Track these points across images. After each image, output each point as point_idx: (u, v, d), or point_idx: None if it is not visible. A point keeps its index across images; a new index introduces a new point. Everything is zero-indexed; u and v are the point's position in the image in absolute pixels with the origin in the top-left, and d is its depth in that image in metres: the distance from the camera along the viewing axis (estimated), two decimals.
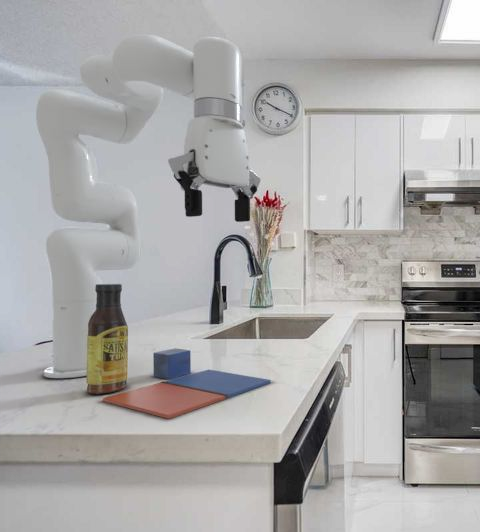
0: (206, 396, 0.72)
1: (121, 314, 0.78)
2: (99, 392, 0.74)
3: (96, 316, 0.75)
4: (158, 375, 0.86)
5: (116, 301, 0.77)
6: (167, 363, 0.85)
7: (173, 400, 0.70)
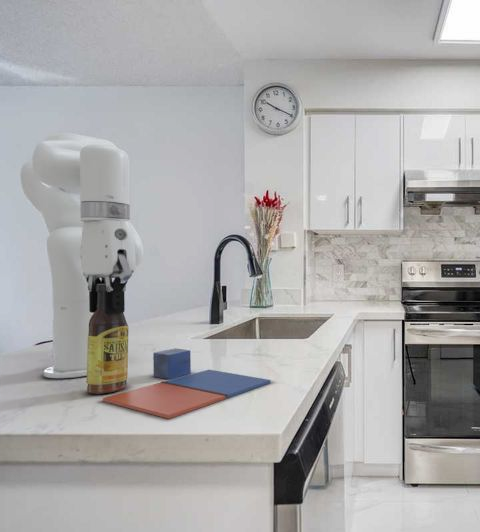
0: (206, 396, 0.72)
1: (122, 314, 0.78)
2: (99, 392, 0.75)
3: (97, 316, 0.75)
4: (158, 375, 0.86)
5: None
6: (167, 363, 0.85)
7: (173, 400, 0.70)
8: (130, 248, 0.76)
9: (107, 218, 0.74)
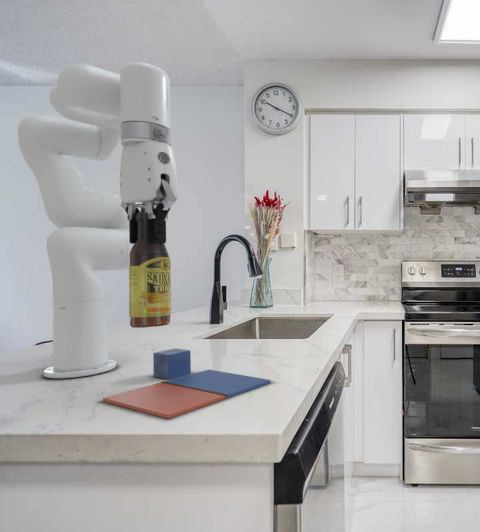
0: (206, 396, 0.72)
1: (163, 245, 0.73)
2: (143, 325, 0.70)
3: (139, 245, 0.71)
4: (158, 375, 0.86)
5: None
6: (167, 363, 0.85)
7: (173, 400, 0.70)
8: (173, 174, 0.72)
9: (149, 140, 0.70)
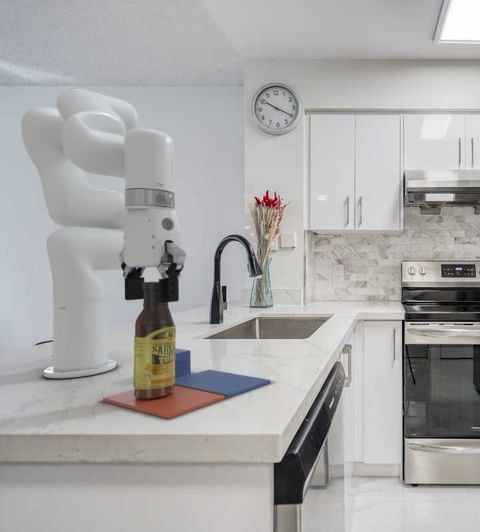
0: (206, 396, 0.72)
1: (169, 314, 0.73)
2: (147, 397, 0.70)
3: (144, 316, 0.70)
4: None
5: None
6: None
7: (173, 400, 0.70)
8: (177, 239, 0.72)
9: (154, 207, 0.70)
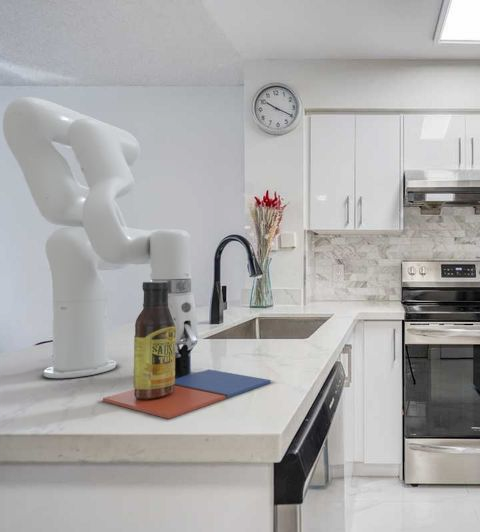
0: (206, 396, 0.72)
1: (169, 314, 0.73)
2: (147, 397, 0.70)
3: (144, 316, 0.70)
4: None
5: (164, 300, 0.73)
6: None
7: (173, 400, 0.70)
8: (193, 318, 0.87)
9: (175, 294, 0.85)
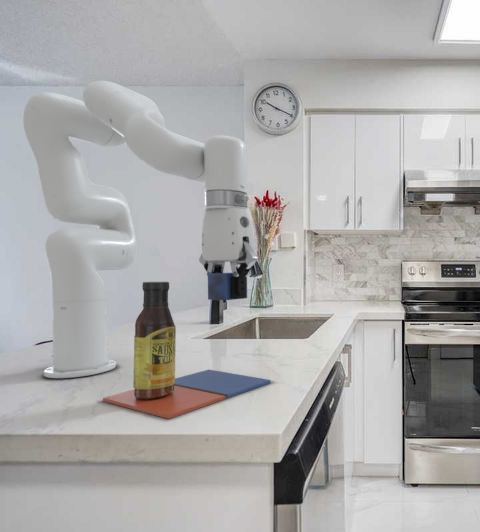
0: (206, 396, 0.72)
1: (169, 314, 0.73)
2: (147, 397, 0.70)
3: (144, 316, 0.70)
4: (213, 297, 0.78)
5: (164, 300, 0.73)
6: (224, 282, 0.77)
7: (173, 400, 0.70)
8: (251, 235, 0.79)
9: (232, 206, 0.77)
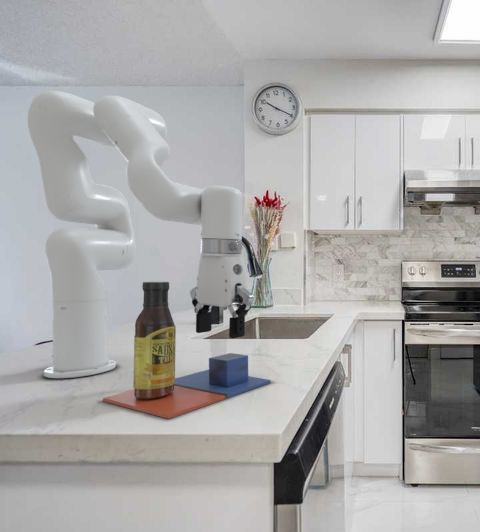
0: (206, 396, 0.72)
1: (169, 314, 0.73)
2: (147, 397, 0.70)
3: (144, 316, 0.70)
4: (215, 383, 0.78)
5: (164, 300, 0.73)
6: (226, 370, 0.77)
7: (173, 400, 0.70)
8: (244, 282, 0.82)
9: (226, 254, 0.80)
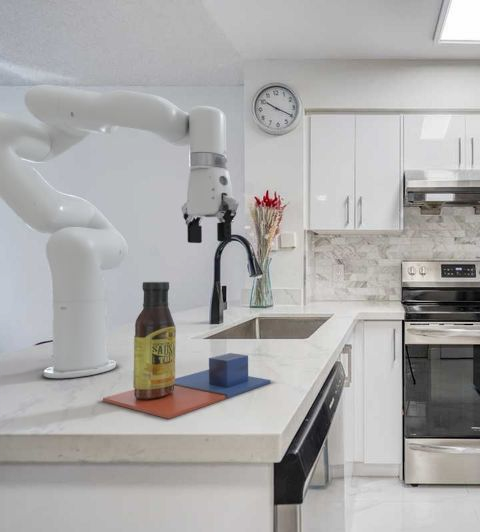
0: (206, 396, 0.72)
1: (169, 314, 0.73)
2: (147, 397, 0.70)
3: (144, 316, 0.70)
4: (215, 383, 0.78)
5: (164, 300, 0.73)
6: (226, 370, 0.77)
7: (173, 400, 0.70)
8: (230, 193, 0.91)
9: (213, 166, 0.89)
